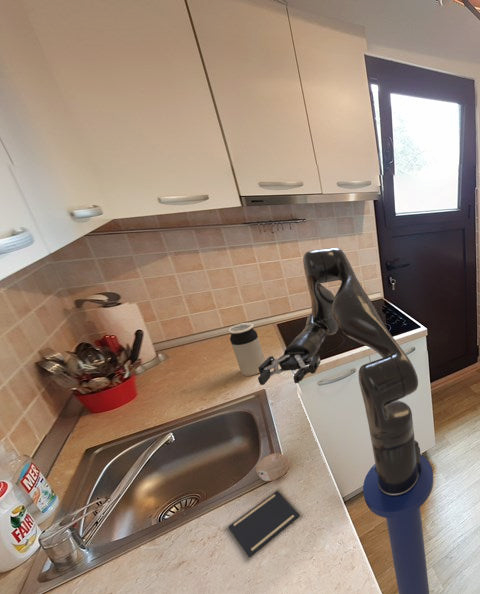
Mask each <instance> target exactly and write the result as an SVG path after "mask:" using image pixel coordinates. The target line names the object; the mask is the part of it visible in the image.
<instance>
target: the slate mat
mask: <svg viewBox="0 0 480 594" xmlns="http://www.w3.org/2000/svg"><path fill="white" fill-rule="evenodd" d="M299 517H300V514H299V513H298V511H296V509H294V507H292V505H291V504H290V503H289V501H287V499H286V498H284V496H283V495H282V494H281V493H280V492H279V491H278V490H276V491H275V492H273V493H272V494H270V495H269V496H268V497H267V498H265V499H263V500H262V501H261V502H259V503H258V504H257V505H255V506H254V507H253V508H251V509H250V510H249V511H247V512H246V513H244V514H243V515H242V516H240V517H239V518H238V519H236V520H235V521H233V522H232V523H230V524H229V525H228V530H229V531H230V532H231V533H232V535H233V536H234V537H235V539H236V541H237V542H238V544H239V545H240V546H241V548H242V550H243V551H244V552H245V553H246V555H247V557H248V558H251V557H252V556H253V555H254V554H256V553H257V552H258V551H259V550H261V549H262V548H263V547H264V546H265V545H267V544H268V543H269V542H271V540H272V539H274V538H275V537H276V536H278V534H281V532H282V531H283V530H285V529H286V528H287V527H289V526H290V525H291V524H292V523H293V522H295V521H296V520H297V519H298V518H299Z"/></svg>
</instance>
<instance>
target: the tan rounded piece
mask: <svg viewBox="0 0 480 594" xmlns="http://www.w3.org/2000/svg"><path fill="white" fill-rule="evenodd" d="M290 464H291V463H290V459H289V458H288V456H287V455H285V454H282V453H279V452H278V453H276V452H275V453H270V454H268V455H266V456H265V457H263V458H261V460H259V462H258V463H257V464H256V466H255V472H256V474H257V475H258V476H259V478H260V479H261V480H263V481H264V482H271V481H276V480H277V479H279V478H282V477H283V476H284V475H285V474H286V473H287V471H288V469H290Z"/></svg>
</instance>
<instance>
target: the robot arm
mask: <svg viewBox="0 0 480 594" xmlns="http://www.w3.org/2000/svg"><path fill="white" fill-rule="evenodd" d="M303 254H304V255H303V258H302V263H303V265H302V266H303V270H304V276H305V281H306V285H307V289H308V292H309V296H310V303H311V312H310V313H309V315H308V316H307V318H306V322H305V326H304V329H303V330H302V331H301V332H300V333H298V335H297V336H296V337H294V339H293V340H292V341H291V342H290V344H289V345H287V347H286V348H285V349H284V352H283V355H282V356H280V357H278V358H274V357H275V356H273V355H271V356H268V357H267V358H266V359H265V362H264V363H263V364H261V365H260V366H259V367H258V369H259V372H260V373H259V376H258V377H257V380H258V383H259V385H260V386H264V385H265V384H266V383H267V382H268V381H269V380H270V378H271V377H272V376H275V375H276V374H277V375H279V374H282V373H284V372H287V371H296V372H295V374H294V375H293V381H294V384H299V383H300V382H301V381H303V379H304V378H305V376H307V375H309V374H315V373H316V372H317V370H318V368H319V366H320V364H321V357H320V354H317V353H318V351H319V350H320V347H321V346H322V344H323V343H324V341H325V340H326V338H327V336H333V335H335V334H336V333H337V332H338V331H339V329H340V331H341V332H342V333H343V334H344V335H345V336H346V337H348V338H349V339H351V340H353V341H355V342H357V343H358V344H361V345H363V346H365V347H368V348H369V349H372V350H373V351H375V352H376V353H377V354H378V355H380V357H381V358H379V359H375V360H372V361H370V362H367V363H364V364H363V365H361V366H360V367H359V369H358V374H357V375H358V383H359V388H360V392H361V396H362V400H363V404H364V410H365V414H366V419H367V423H368V429H369V435H370V440H371V447H372V452H373V459H374V464H375V465H376V468H375V471H376V472H377V477H378V485H379V489H380V491H381V492H382V493H383V494H385V495H386V496H389V497H399V496H402V495H405V494H407V493H408V492H410V491H411V490H412V489H413V488H414V487H415V485H416V484H417V481H418V477H419V474H420V473H421V464H420V457H421V455H422V453H421V448H420V444H419V442H418V440H415V431H414V421H413V412H412V409H411V407H410V406H409V405H408V404H407V403H406V402H404V401H402V399H403V398H405V397H408V396H410V395H412V394H413V393H415V392H416V391H417V389H418V387H419V379H418V374H417V371H416V369H415V367H414V365H413V363H412V361H411V359H409V357H408V355H407V354H406V353H405V351H404V350H403V349H402V347H401V346H400V344H399V343H398V342H397V340H396V339H395V337H394V336H392V334H391V333H390V331H389V330H388V328H387V326H386V325H385V323H384V321H383V320H382V318H381V316H380V315H379V313H378V311H377V309H376V307H375V305H374V304H373V302H372V300H371V299H370V297H369V296H368V294H367V293H366V292H365V290H364V288H363V287H362V285H361V283H360V281H359V279H358V277H357V276H356V273H355V272H354V269H353V266H352V265H351V262H350V261H349V258H348V257H347V254H346V252H345V251H344V250H343V249H341V248H339V247H330V248H319V249H313V250H309V251H306V252H304V253H303ZM336 281H341V282H340V286H339V288H338V290H337V291H336V293H335V295H334V293H333V292H332V291H331V290H329V289H328V288H327V287H325V286H324V285H323V284H325V283H331V282H336ZM279 367H280V368H279ZM272 369H273V370H272Z"/></svg>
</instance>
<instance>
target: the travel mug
mask: <svg viewBox="0 0 480 594" xmlns="http://www.w3.org/2000/svg"><path fill="white" fill-rule="evenodd" d="M227 332H228V333H229V334H230V337H229V341H230V344H231V347H232V349H233V352H234V356H235V358H236V361H237V365H238V367H239V370H240V374H241V375H242V376H245V377H250V376H256V375H258V374H260V372H259V369H258V367H259V366H260V365H261V364H263V363H264V362H265V361H266V359H265V356H264V351H263V349H262V345H261V342H260V339H259V336H258V331H256V330H255V329H254V323H251V322H242V323H238V324H234V325H233V326H231V327H230V328H228V330H227Z"/></svg>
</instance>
